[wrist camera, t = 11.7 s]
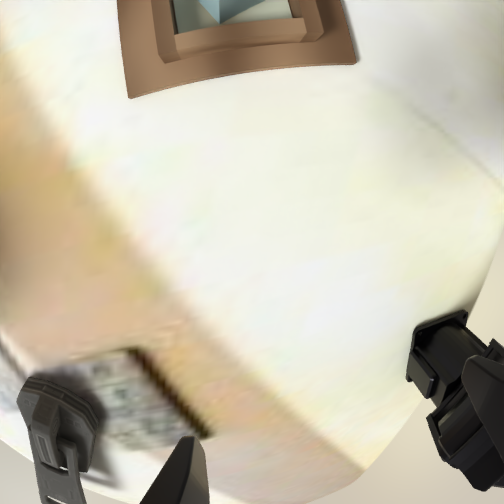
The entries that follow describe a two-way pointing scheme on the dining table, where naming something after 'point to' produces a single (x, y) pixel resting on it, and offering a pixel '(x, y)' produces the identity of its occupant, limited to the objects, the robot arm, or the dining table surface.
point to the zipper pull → (58, 438)
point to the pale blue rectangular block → (227, 8)
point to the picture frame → (226, 40)
